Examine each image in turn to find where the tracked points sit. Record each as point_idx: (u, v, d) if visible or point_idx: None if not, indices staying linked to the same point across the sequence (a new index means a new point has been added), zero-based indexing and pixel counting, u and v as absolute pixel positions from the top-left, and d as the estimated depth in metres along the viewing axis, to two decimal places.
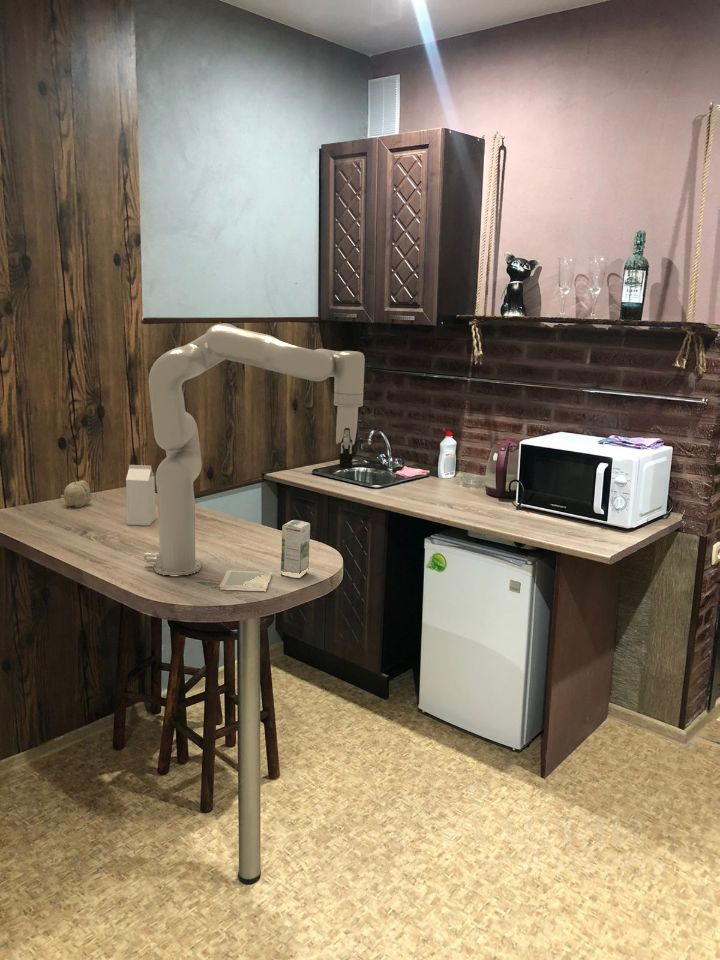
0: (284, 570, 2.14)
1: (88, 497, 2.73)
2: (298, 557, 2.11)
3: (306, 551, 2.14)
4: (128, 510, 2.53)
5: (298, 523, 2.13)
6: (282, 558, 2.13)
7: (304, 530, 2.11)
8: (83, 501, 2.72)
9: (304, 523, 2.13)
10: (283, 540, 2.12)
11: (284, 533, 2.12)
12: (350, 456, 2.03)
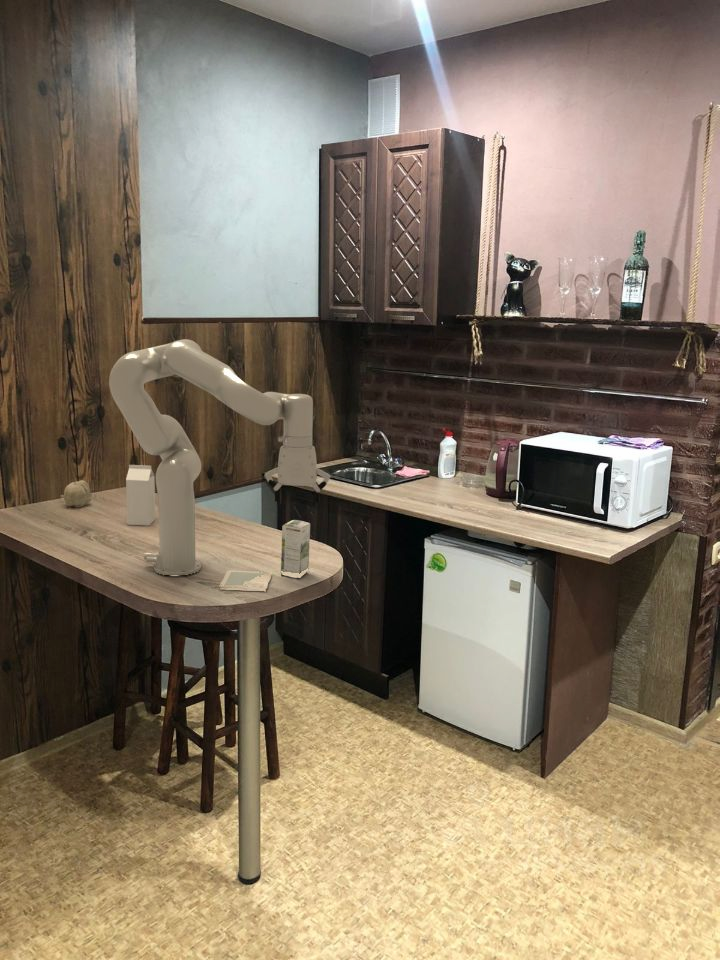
0: (284, 570, 2.14)
1: (88, 497, 2.73)
2: (298, 557, 2.11)
3: (306, 551, 2.14)
4: (128, 510, 2.53)
5: (298, 523, 2.13)
6: (282, 558, 2.13)
7: (304, 530, 2.11)
8: (83, 501, 2.72)
9: (304, 523, 2.13)
10: (283, 540, 2.12)
11: (284, 533, 2.12)
12: None
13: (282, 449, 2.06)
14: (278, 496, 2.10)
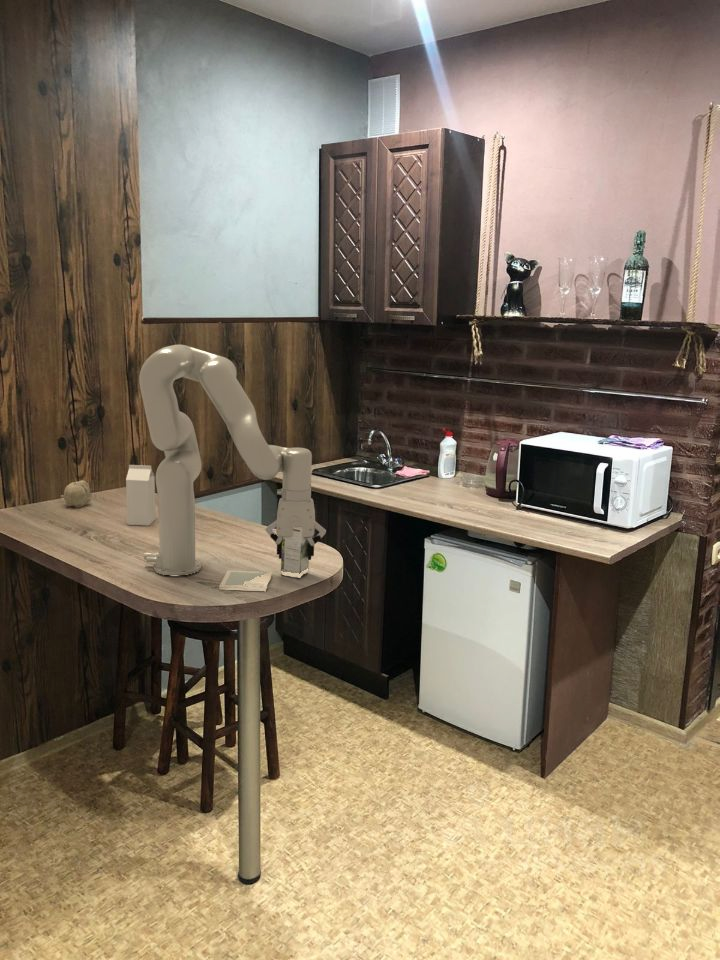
0: (284, 570, 2.14)
1: (88, 497, 2.73)
2: (298, 557, 2.11)
3: (306, 551, 2.14)
4: (128, 510, 2.53)
5: None
6: (282, 558, 2.13)
7: None
8: (83, 501, 2.72)
9: None
10: (283, 540, 2.12)
11: None
12: None
13: (281, 502, 2.09)
14: (280, 550, 2.13)
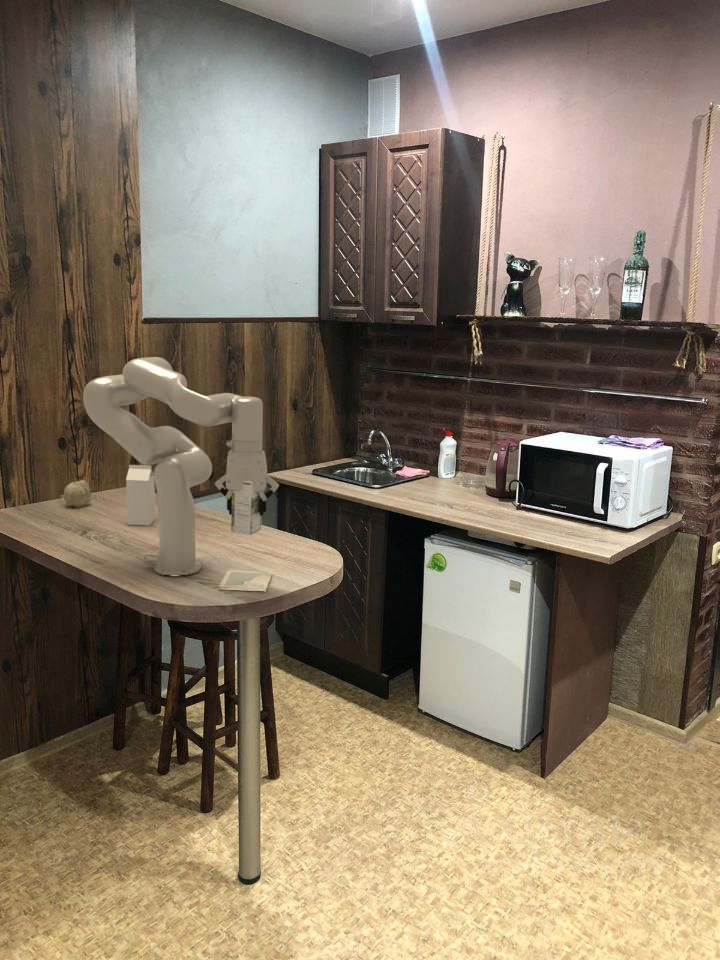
0: (234, 527, 2.03)
1: (88, 497, 2.73)
2: (249, 512, 2.00)
3: (258, 506, 2.04)
4: (128, 510, 2.53)
5: None
6: (232, 514, 2.02)
7: None
8: (83, 501, 2.72)
9: None
10: (233, 494, 2.01)
11: None
12: None
13: (230, 454, 1.98)
14: (230, 505, 2.02)
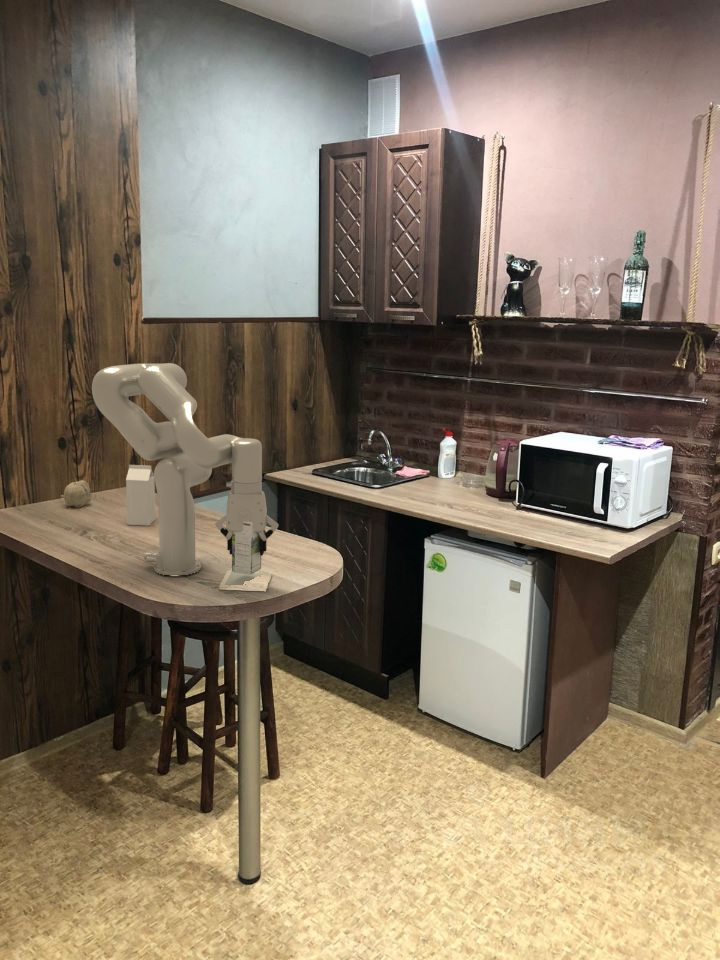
0: (235, 566, 2.05)
1: (88, 497, 2.73)
2: (249, 552, 2.03)
3: (258, 546, 2.06)
4: (128, 510, 2.53)
5: None
6: (233, 554, 2.05)
7: None
8: (83, 501, 2.72)
9: None
10: (233, 535, 2.04)
11: None
12: None
13: (230, 495, 2.01)
14: (230, 545, 2.04)
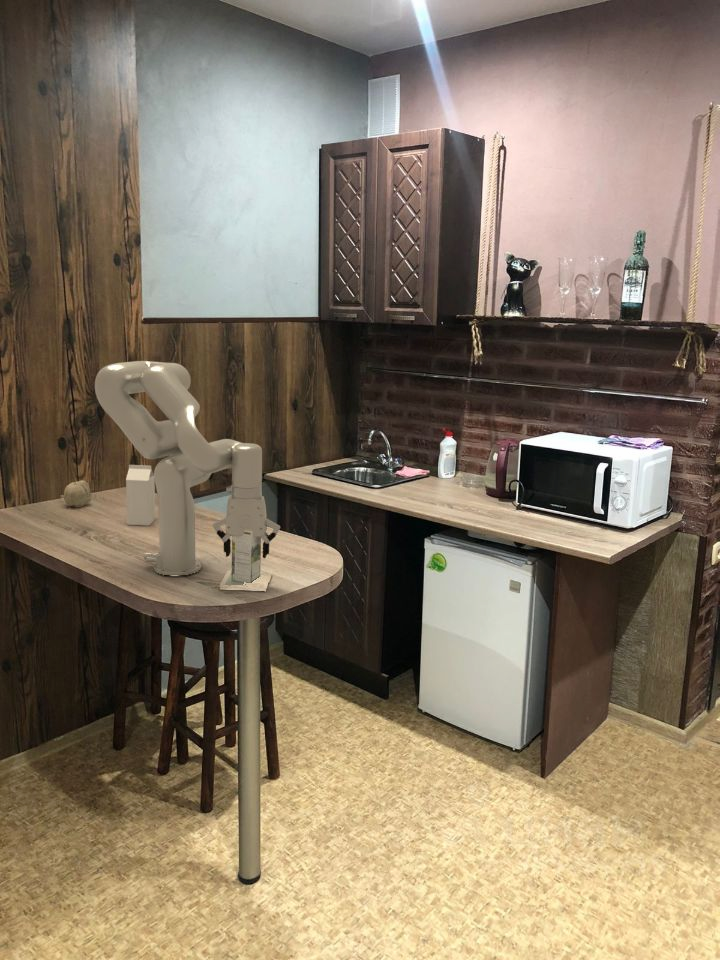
0: (234, 575, 2.06)
1: (88, 497, 2.73)
2: (249, 561, 2.04)
3: (257, 554, 2.07)
4: (128, 510, 2.53)
5: None
6: (232, 562, 2.05)
7: None
8: (83, 501, 2.72)
9: None
10: (233, 543, 2.04)
11: (234, 536, 2.03)
12: None
13: (230, 500, 2.01)
14: (226, 547, 2.05)
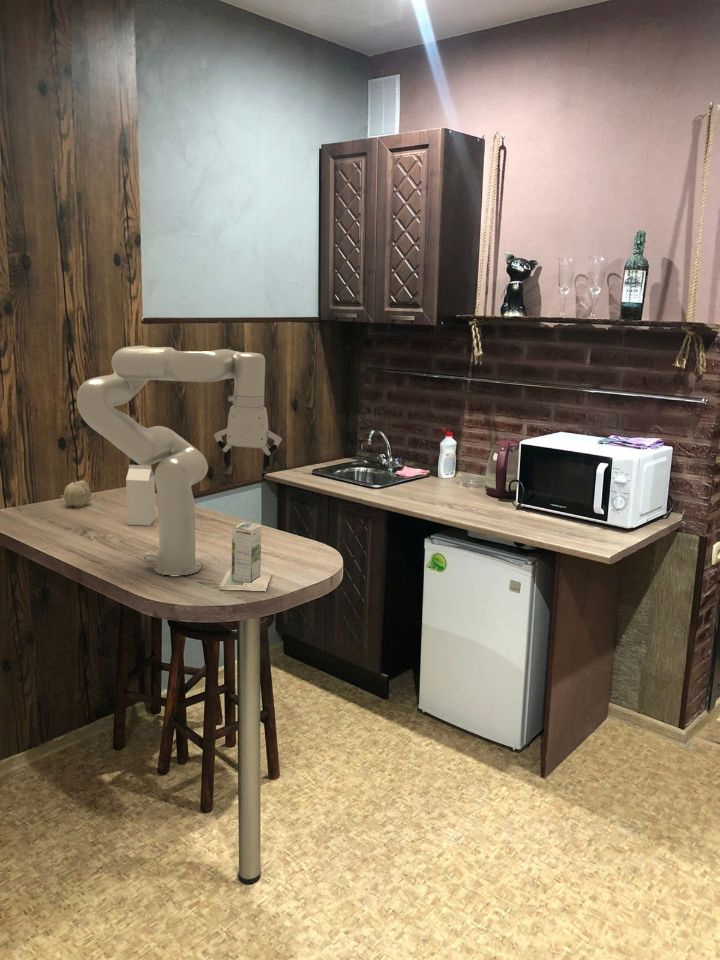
0: (234, 575, 2.06)
1: (88, 497, 2.73)
2: (249, 561, 2.04)
3: (257, 554, 2.07)
4: (128, 510, 2.53)
5: (249, 526, 2.05)
6: (232, 562, 2.05)
7: (255, 533, 2.04)
8: (83, 501, 2.72)
9: (255, 525, 2.06)
10: (233, 543, 2.04)
11: (234, 536, 2.03)
12: None
13: (232, 409, 2.00)
14: (227, 458, 2.03)
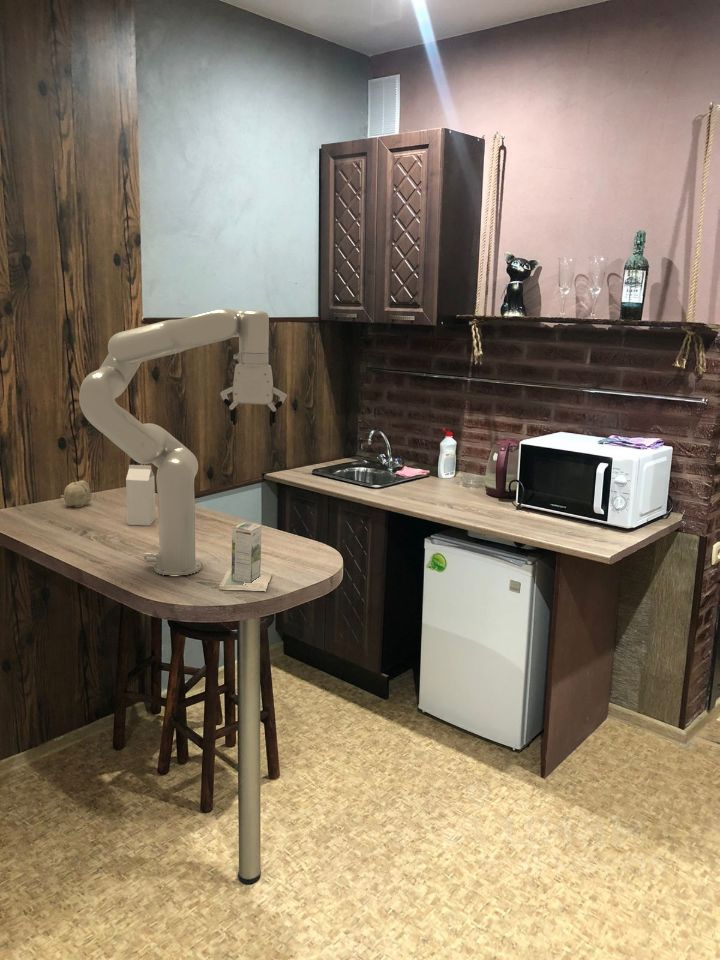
0: (234, 575, 2.06)
1: (88, 497, 2.73)
2: (249, 561, 2.04)
3: (257, 554, 2.07)
4: (128, 510, 2.53)
5: (249, 526, 2.05)
6: (232, 562, 2.05)
7: (255, 533, 2.04)
8: (83, 501, 2.72)
9: (255, 525, 2.06)
10: (233, 543, 2.04)
11: (234, 536, 2.03)
12: None
13: (237, 366, 2.03)
14: (233, 415, 2.07)
